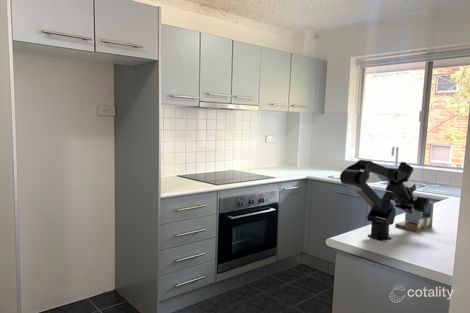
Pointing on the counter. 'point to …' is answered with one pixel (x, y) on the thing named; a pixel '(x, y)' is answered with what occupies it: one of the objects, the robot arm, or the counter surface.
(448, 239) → the counter surface
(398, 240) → the counter surface
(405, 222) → the gauge frame
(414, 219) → the pale blue shelf board
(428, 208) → the brushed steel plate
